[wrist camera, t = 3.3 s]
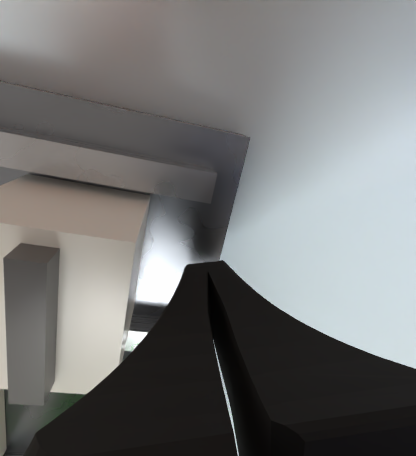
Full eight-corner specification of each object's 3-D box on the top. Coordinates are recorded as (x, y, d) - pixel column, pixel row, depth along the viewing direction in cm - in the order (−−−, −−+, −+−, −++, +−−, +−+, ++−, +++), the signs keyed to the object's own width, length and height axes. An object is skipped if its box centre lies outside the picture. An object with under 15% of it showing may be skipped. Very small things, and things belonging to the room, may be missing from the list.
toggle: (150, 195, 10) (131, 257, 6) (133, 307, 12) (109, 420, 8) (27, 173, 10) (-95, 225, 5) (28, 295, 11) (-65, 411, 7)
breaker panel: (242, 134, 11) (263, 142, 8) (166, 448, 17) (164, 507, 15) (-206, 35, 9) (-367, 4, 6) (-108, 439, 15) (-168, 508, 12)
